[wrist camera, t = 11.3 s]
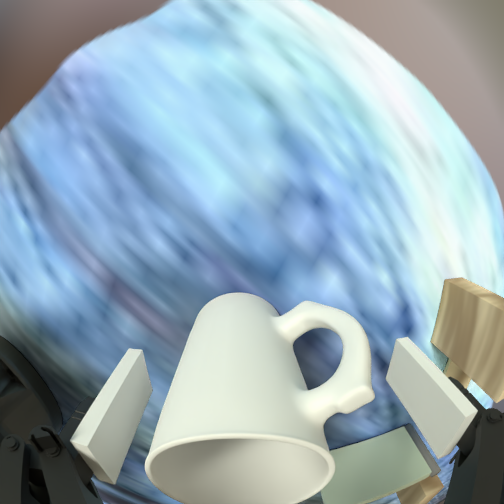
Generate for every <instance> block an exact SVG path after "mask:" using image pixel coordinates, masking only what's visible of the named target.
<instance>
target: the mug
mask: <svg viewBox="0 0 504 504" xmlns="http://www.w3.org/2000/svg"><path fill="white" fill-rule="evenodd" d="M314 328H327V329H330V330H332V331H334V332H335V333H336V334H338V335H339V336H340V338H341V340H342V344H343V355H342V359H341V362H340V365H339V367H338V369H337V370H336V372H335V373H334V375H333V376H332V377H331V378H330V379H329V380H328V381H327V382H325V383H324V384H322V385H321V386H319V387H317V388H314V389H312V390H308V389H307V386H306V383H305V381H304V378H303V375H302V373H301V370H300V367H299V365H298V362H297V359H296V356H295V354H294V350H293V343H294V341H295V340H296V339H297V338H298V337H299V336H301V335H302V334H304V333H305V332H307V331H309V330H311V329H314ZM374 398H375V394H374V391H373V389H372V385H371V352H370V346H369V342H368V338H367V335H366V333H365V331H364V329H363V328H362V326H361V325H360V324H359V322H358V321H357V320H356V319H355V318H353V317H352V316H351V315H349V314H348V313H346V312H344V311H342V310H339V309H336V308H333V307H330V306H326V305H322V304H319V303H315V302H312V301H303V302H302V303H300V304H299V305H297V306H296V307H295V308H293V309H292V310H291V311H289V312H287V313H286V314H284V315H282V316H280V315H279V314H278V312H277V311H276V309H275V308H274V307H273V306H272V305H271V304H270V303H268V302H267V301H266V300H264V299H262V298H260V297H258V296H256V295H252V294H248V293H228V294H224V295H221V296H219V297H217V298H215V299H213V300H211V301H210V302H209V303H207V304H206V305H205V306H204V307H203V308H202V309H201V311H200V312H199V314H198V316H197V318H196V320H195V323H194V326H193V328H192V330H191V333H190V335H189V338H188V340H187V343H186V346H185V349H184V351H183V354H182V357H181V360H180V362H179V365H178V368H177V370H176V373H175V376H174V379H173V381H172V384H171V387H170V390H169V392H168V395H167V398H166V401H165V403H164V406H163V409H162V412H161V415H160V418H159V421H158V424H157V427H156V430H155V434H154V437H153V441H152V445H151V448H150V451H149V454H148V457H147V459H146V461H145V471H146V474H147V476H148V478H149V480H150V481H151V482H152V483H153V485H154V486H155V487H157V488H158V489H159V490H160V491H161V492H163V493H164V494H166V495H167V496H169V497H171V498H173V499H175V500H177V501H179V502H181V503H184V504H297V503H299V502H301V501H304V500H306V499H308V498H310V497H311V496H313V495H315V494H316V493H318V492H319V491H320V490H322V489H323V488H324V487H325V486H326V485H327V484H328V483H329V482H330V480H331V479H332V477H333V475H334V473H335V467H336V466H335V461H334V458H333V456H332V455H331V454H330V451H329V448H328V445H327V442H326V438H325V435H324V427H323V426H324V424H325V422H326V420H327V419H328V418H329V417H331V416H332V415H334V414H336V413H338V412H341V413H345V414H348V413H351V412H353V411H355V410H356V409H358V408H360V407H361V406H363V405H365V404H367V403H369V402H371V401H372V400H373V399H374Z"/></svg>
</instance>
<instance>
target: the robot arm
mask: <svg viewBox="0 0 504 504" xmlns="http://www.w3.org/2000/svg"><path fill="white" fill-rule="evenodd" d="M386 380H387V382H388V383H389V385H390V386H391V388H392V389H393V391H394V392H395V393H396V395H397V396H398V398H399V399H400V401H401V402H402V404H403V405H404V407H405V408H406V410H407V411H408V413H409V414H410V416H411V417H412V419H413V420H414V422H415V424H416V425H417V427H418V428H419V430H420V431H421V433H422V434H423V436H424V437H425V439H426V441H427V442H428V444H429V445H430V447H431V449H432V450H433V452H434V453H435V455H436V457H437V458H438V459H439V458H442V457H444V456H446V455H448V454H450V453H451V452H452V450H453V449H454V448H455V446H456V445H457V446H458V447H459V450H458V451H457V452H456V454H455V455H454V456H453V458H452V459H451V460H450V463H449V464H451V463H452V462H453V461H454V459H455V463H454V468H453V472H452V477H451V480H450V484H449V488H448V492H447V495H446V498H445V502H444V504H504V413H501V412H500V411H498V410H497V409H494V408H489V409H485V408H484V407H483V406H482V405H481V404H480V403H479V402H478V401H477V400H476V399H475V398H474V396H473V395H472V394H471V393H469V391H468V390H467V389H466V388H464V386H463V385H462V384H461V383H460V382H459V381H458V380H456V379H454V378H452V377H451V376H450V377H448V378H447V377H446V376H445V375H444V373H443V372H442V371H441V370H440V369H439V368H438V367H437V366H436V365H435V364H434V363H433V362H432V361H431V360H430V359H429V358H428V357H427V356H426V355H425V354H424V353H423V352H422V351H421V350H420V349H419V348H418V347H417V346H416V345H415V344H414V343H413V342H412V341H411V340H410V339H409V338H408V337H405V338H400V339H396V342H395V346H394V350H393V354H392V358H391V362H390V366H389V369H388V373H387V376H386ZM152 391H153V389H152V386H151V382H150V379H149V375H148V371H147V367H146V363H145V359H144V355H143V351H142V350H139V349H128V351H127V352H126V354H125V355H124V357H123V358H122V360H121V361H120V362H119V364H118V365H117V367H116V368H115V370H114V371H113V373H112V374H111V376H110V377H109V379H108V380H107V382H106V384H105V385H104V387H103V388H102V390H101V391H100V393H99V394H98V396H97V397H96V398H92V397H88V398H86V399H85V400H83V401H82V402H81V403H80V404H79V405H78V407H77V408H76V410H75V412H74V413H73V414H72V416H71V418H70V419H69V420H68V422H67V423H66V425H65V426H64V428H63V430H62V431H61V433H60V434H59V435H58V432H59V430H60V429H61V427H62V423H63V420H62V415H61V412H60V409H59V407H58V404H57V402H56V400H55V399H54V397H53V395H52V393H51V392H50V390H49V389H48V387H47V386H46V384H45V383H44V381H43V380H42V379H41V377H40V376H39V375H38V373H37V372H36V371H35V369H34V368H33V367H32V366H31V365H30V363H29V362H28V361H27V360H26V359H25V358H24V357H23V356H22V354H21V353H20V352H19V351H18V350H17V349H16V348H15V347H13V346H12V345H11V344H10V343H9V342H8V341H7V340H5V339H4V338H3V337H1V336H0V504H103V502H102V500H101V498H100V496H99V493H98V491H97V489H96V487H95V485H94V483H93V481H92V480H91V477H92V475H93V473H94V474H95V476H96V477H97V478H98V479H99V480H101V481H104V482H107V483H111V484H114V485H115V484H116V481H117V478H118V476H119V473H120V470H121V468H122V465H123V462H124V460H125V457H126V455H127V452H128V450H129V447H130V445H131V442H132V439H133V437H134V434H135V432H136V430H137V427H138V425H139V422H140V420H141V417H142V415H143V412H144V410H145V408H146V405H147V403H148V401H149V398H150V396H151V393H152Z"/></svg>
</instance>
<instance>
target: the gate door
mask: <svg viewBox="0 0 504 504" xmlns="http://www.w3.org/2000/svg"><path fill="white" fill-rule="evenodd" d="M330 454H331V455H332V456H333V458H334V461H335V466H336V467H335V473H334V475H333V477H332V479H331V480H330V482H329V483H328V484H327V485H326V486H325V487H324V488H323V489H322V490H320V492H321V496H322V500H323V503H324V504H367V503H369V502H372V501H375V500H378V499H380V498H383V497H386V496H388V495H391V494H393V493H395V492H398V491H400V490H402V489H405V488H407V487H409V486H411V485H413V484H415V483H417V482H419V481H421V480H423V479H425V478H427V477H429V475H430V476H431V477H434V476H435V475H437V474H438V473H439V472H440V471H441V469H440V468H439V466H438V465H437V463H436V461H435V460H434V458H433V457H432V455H431V454H430V452H429V450H428V449H427V447H426V446H425V444H424V443H423V441H422V440H421V438H420V437H419V435H418V434H417V432H416V431H415V429H414V428H413V426H412V425H411V424H408V425H406V426H405V427H404V426H403V427H400V428H398V429H395V430H393V431H390V432H388V433H385V434H382V435H380V436H377V437H374V438H371V439H368V440H365V441H362V442H359V443H356V444H352V445H349V446H346V447H342V448H338V449H335V450H331V451H330Z"/></svg>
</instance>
